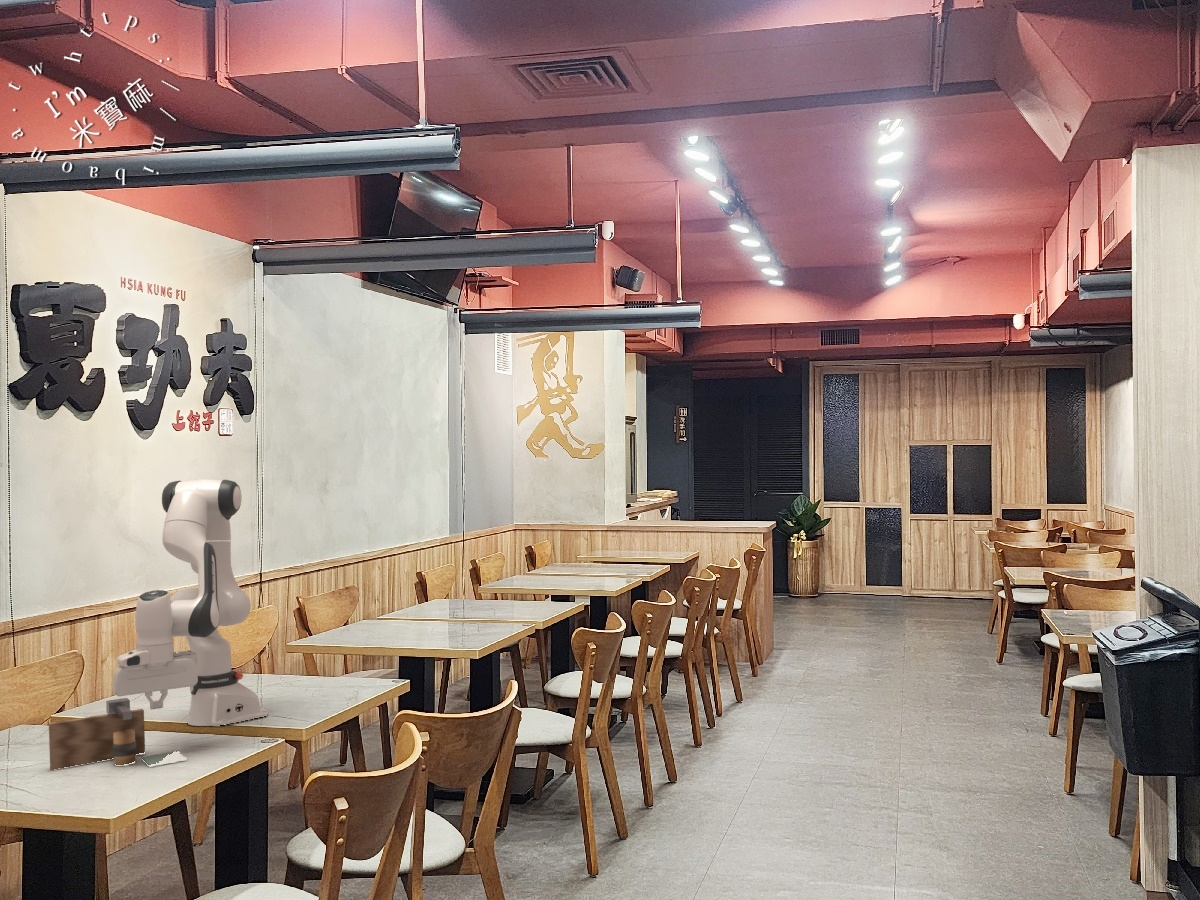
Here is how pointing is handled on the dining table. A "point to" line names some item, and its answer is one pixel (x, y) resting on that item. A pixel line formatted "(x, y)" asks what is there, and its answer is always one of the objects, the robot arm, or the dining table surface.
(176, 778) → the dining table surface
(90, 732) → the board
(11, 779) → the dining table surface
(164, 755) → the mat
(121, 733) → the spool
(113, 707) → the clamp bar
